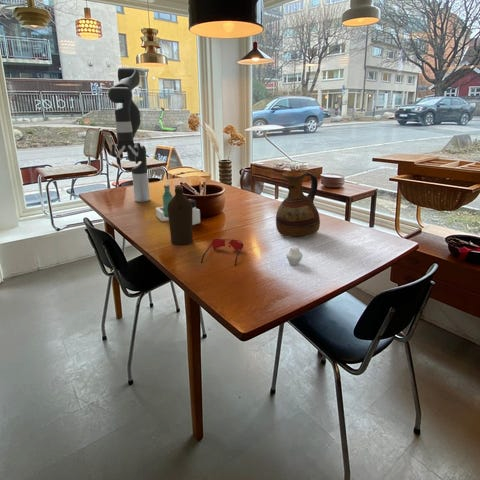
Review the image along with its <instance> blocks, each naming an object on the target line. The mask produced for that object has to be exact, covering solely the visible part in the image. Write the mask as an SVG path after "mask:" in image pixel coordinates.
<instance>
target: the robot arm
mask: <svg viewBox="0 0 480 480" xmlns="http://www.w3.org/2000/svg"><path fill="white" fill-rule="evenodd" d="M140 79H141V77H140V72H139V70H138V69H137V68H135V67H118V68H117V80H118V82H117V84H114V85H113V86H111V87H110V88H109V90H108V99H109V100H110V101H111V103H114V104H121V107H120V108H116V109H115V110H114V117H115V129H116V139H117V143H111V144H110V145H111V146H110V148H111V156H112V157H114V158H115V159H116V163H117V165H118V166H121V159H120V156H121V155H122V153H126V155H127V159H128V161H129V162H135V164H136V166H134V167H131V179H132V184H133V185H132V186H133V187H132V188H133V195H134V197H133V198H134V201H135V202H139V203H143V202H149V201H150V200H151V196H150V186H149V183H150V182H149V174H148V166H147V164H148V163H147V150H146V147H145V145H141V143H140V142H134V137H135V136H136V133H137V132H138V131H139V128H140V126H141V113H140V110H139V107H138V106H137V105H136V103H135V102H134V100H133V99H132V98H133V93H132V90H133V89H135V88H136V87H138V86H139V84H140V82H141V81H140ZM117 148H118V151H117V153H116V149H117ZM138 163H139V164H138ZM137 164H138V165H137Z"/></svg>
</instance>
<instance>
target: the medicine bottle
mask: <svg viewBox="0 0 480 480" xmlns="http://www.w3.org/2000/svg"><path fill="white" fill-rule="evenodd" d="M187 199H188V200H189V201H190V202H191V204H192V226H195V225H198V224H201V210H200V209H199V208H197V202H196V200H195V199H191V198H187Z"/></svg>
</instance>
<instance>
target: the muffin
mask: <svg viewBox="0 0 480 480" xmlns="http://www.w3.org/2000/svg"><path fill="white" fill-rule="evenodd" d="M285 256H286V259H287V261H288V262H289V264H290V265H291V266H298V265H299V264H300V262H301V261H302V258H303V253H302V252H301V250H300V248H299V247H298V246H291V247H290V249H289V250H288V252H286V254H285Z"/></svg>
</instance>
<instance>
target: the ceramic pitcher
mask: <svg viewBox="0 0 480 480" xmlns="http://www.w3.org/2000/svg"><path fill="white" fill-rule="evenodd" d="M282 176H283V177H284V178H285V180H287V189H288V194H287V197H285V198H284V199H283V201H281V203H280V205H279V206H278V208H277V211H276V216H275V227H276V230H277V232H278V233H279V234H280V235H282V236H284V237H288V238H297V239H298V238H304V237H309V236H313V235H314V234H315V233H317V232H319V230H320V226H321V219H320V214H319V211H318V209H317V207H316V205H315V204H314V203H315V202H314V201H315V197H316V194H317V191H318V185H319V184H318V183H319V181H318V179H317V177H316V176H315V174H313V173H312V172H309V171H308V170H305V169H293V170H286V171H283V172H282ZM306 177H310V181H311V182H310V184H311V185H310V189H309V192H308V195H304V192H303V186H302V185H303V180H304V178H306Z"/></svg>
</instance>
